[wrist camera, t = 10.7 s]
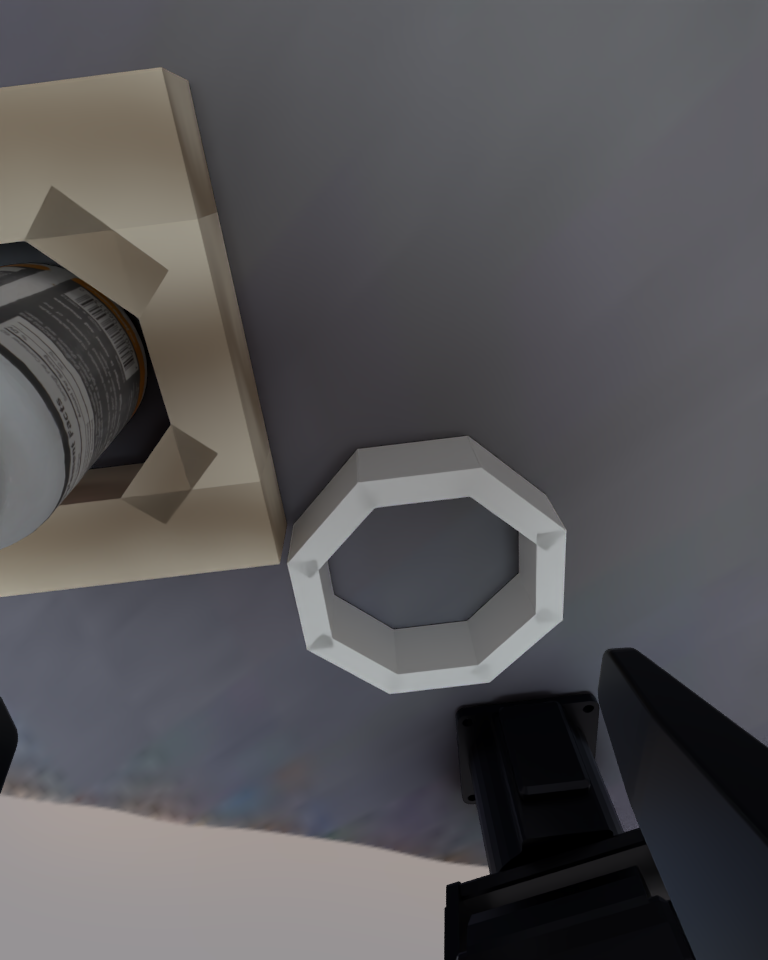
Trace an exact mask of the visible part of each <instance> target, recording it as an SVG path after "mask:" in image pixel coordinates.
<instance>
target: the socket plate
mask: <svg viewBox="0 0 768 960" xmlns="http://www.w3.org/2000/svg"><path fill="white" fill-rule="evenodd" d="M20 241H26V242H27V243H29V244H30V245H32V246H33V247H35V248H36V249H38V250H39V251H41V252H42V253H44V254H45V255H46V256H48V257H49V258H51V259H52V260H54V261H55V262H57V263H58V264H60V265H61V266H63V267H64V268H66V269H67V270H69V271H70V272H71V273H73V274H74V275H76V276H77V277H79V278H80V279H82V280H83V281H85V282H86V283H88V284H89V285H91V286H92V287H93V288H95V289H96V290H98V291H99V292H101V293H102V294H104V295H105V296H107V297H108V298H110V299H111V300H113V301H114V302H115V303H117V304H118V305H120V306H121V307H123V308H124V309H126V310H127V311H129V312H130V313H132V314H133V315H135V316H136V317H137V318H139V321H140V325H141V328H142V331H143V334H144V338H145V341H146V344H147V348H148V351H149V354H150V357H151V361H152V364H153V367H154V371H155V374H156V377H157V381H158V384H159V387H160V390H161V394H162V397H163V400H164V404H165V407H166V410H167V413H168V417H169V420H170V423H171V425H170V426H169V428H168V429H167V431H166V432H165V434H164V435H163V437H162V438H161V440H160V441H159V443H158V444H157V446H156V447H155V448H154V450H153V451H152V453H151V454H150V456H149V457H148V459H147V460H146V462H145V463H140V464H132V465H123V466H115V467H107V468H98V469H90V470H88V471H87V472H86V474H85V475H84V476H83V477H82V479H81V480H80V481H79V482H78V484H77V485H76V486H75V487H74V488H73V489H72V491H71V492H70V493H69V494H68V495H67V497H66V498H65V499H64V500H63V501H62V502H61V504H60V505H59V506H58V507H57V508H56V509H55V511H54V512H53V513H52V514H51V516H50V517H49V518H48V519H47V520H46V521H45V522H44V523H43V524H42V525H41V526H40V527H38V528H37V530H36V531H34V532H33V533H31V534H30V535H28V536H27V537H25V538H23V539H21V540H19V541H18V542H16V543H14V544H12V545H10V546H8V547H5V548H2V549H0V597H5V596H14V595H22V594H30V593H39V592H47V591H56V590H64V589H73V588H81V587H90V586H98V585H106V584H115V583H123V582H132V581H140V580H149V579H157V578H166V577H174V576H182V575H191V574H199V573H208V572H216V571H225V570H233V569H242V568H250V567H258V566H267V565H275V564H280V560H281V555H282V549H283V544H284V538H285V533H286V527H287V522H286V518H285V513H284V509H283V504H282V500H281V495H280V491H279V486H278V482H277V477H276V473H275V468H274V464H273V459H272V455H271V450H270V446H269V442H268V437H267V433H266V428H265V424H264V419H263V415H262V410H261V406H260V401H259V397H258V392H257V388H256V383H255V379H254V374H253V370H252V365H251V361H250V356H249V352H248V347H247V343H246V338H245V334H244V329H243V325H242V320H241V316H240V311H239V307H238V302H237V298H236V293H235V289H234V284H233V280H232V275H231V271H230V266H229V262H228V257H227V253H226V248H225V244H224V239H223V235H222V230H221V226H220V221H219V217H218V213H217V208H216V204H215V199H214V195H213V190H212V186H211V181H210V177H209V172H208V168H207V163H206V159H205V154H204V150H203V145H202V141H201V136H200V132H199V127H198V123H197V118H196V114H195V109H194V105H193V100H192V96H191V91H190V87H189V82H188V80H186V79H184V78H182V77H180V76H178V75H176V74H174V73H172V72H170V71H168V70H166V69H164V68H162V67H159V68H152V69H144V70H136V71H128V72H120V73H113V74H105V75H97V76H89V77H81V78H73V79H66V80H58V81H50V82H42V83H34V84H27V85H19V86H11V87H3V88H0V244H4V243H12V242H20Z"/></svg>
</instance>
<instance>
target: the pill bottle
mask: <svg viewBox="0 0 768 960" xmlns="http://www.w3.org/2000/svg"><path fill="white" fill-rule="evenodd" d="M146 383H147V360H146V355H145V351H144V347H143V344H142V341H141V339H140V337H139V335H138V332H137V330H136V328H135V326H134V325H133V323H132V321H131V320H130V318H129V317H128V315H127V314H126V313H125V311H124V310H123V309H122V307H121V306H119V305H118V304H117V303H115V302H114V301H113V300H111V299H110V298H108V297H107V296H105V295H104V294H102V293H101V292H99V291H98V290H96V289H95V288H93V287H92V286H91V285H89V284H88V283H86V282H85V281H83V280H82V279H80V278H79V277H77V276H76V275H74V274H73V273H71V272H70V271H69V270H66V269H63V268H60V267H56V266H51V265H46V264H37V263H22V264H12V265H7V266H2V267H0V549H2V548H5V547H8V546H10V545H12V544H14V543H16V542H18V541H19V540H21V539H23V538H25V537H27V536H28V535H30V534H31V533H33V532H34V531H36V530H37V528H38V527H40V526H41V525H42V524H43V523H44V522H45V521H46V520H47V519H48V518H49V517H50V516H51V514H52V513H53V512H54V511H55V509H56V508H57V507H58V506H59V505H60V504H61V502H62V501H63V500H64V499H65V498H66V497H67V495H68V494H69V493H70V492H71V491H72V489H73V488H74V487H75V486H76V485H77V484H78V482H79V481H80V480H81V479H82V477H83V476H84V475H85V474H86V472H87V471H88V470H89V469H90V467H91V466H92V465H93V464H94V463H95V462H96V460H97V459H98V458H99V457H100V456H101V454H102V453H103V452H104V451H105V450H106V449H107V448H108V446H109V445H110V444H111V443H112V441H113V440H114V439H115V438H116V436H117V435H118V434H119V433H120V432H121V431H122V429H123V428H124V427H125V425H126V424H127V423H128V422H129V420H130V419H131V418H132V416H133V415H134V413H135V412H136V410H137V409H138V407H139V405H140V403H141V401H142V399H143V396H144V392H145V388H146Z"/></svg>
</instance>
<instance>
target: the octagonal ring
mask: <svg viewBox="0 0 768 960" xmlns="http://www.w3.org/2000/svg"><path fill="white" fill-rule="evenodd" d="M462 497H471V498H473V499H474V500H475V501H477V502H478V503H480V504H481V505H482V506H484V507H485V508H487V509H488V510H489V511H491V512H492V513H494V514H495V515H496V516H498V517H499V518H501V519H502V520H503V521H505V522H506V523H508V524H509V525H510V526H512V527H513V528H514V529H516V530H517V531H519V573H518V574H517V575H516V576H515V577H514V578H513V579H512V580H511V581H510V582H508V583H507V584H506V585H505V586H504V587H503V588H502V589H501V590H500V591H499V592H498V593H497V594H496V595H494V596H493V597H492V598H491V599H490V600H489V601H488V602H487V603H486V604H485V605H484V606H483V607H481V608H480V609H479V610H478V611H477V612H476V613H475V614H474V615H473V616H472V617H471V618H470V619H468V620H467V621H461V622H453V623H444V624H436V625H427V626H419V627H410V628H402V629H392V628H390V627H389V626H387V625H385V624H384V623H382V622H380V621H378V620H377V619H375V618H373V617H372V616H370V615H368V614H366V613H365V612H363V611H361V610H360V609H358V608H356V607H354V606H353V605H351V604H349V603H348V602H346V601H344V600H342V599H341V598H339V597H337V596H336V595H334V592H333V586H332V581H331V576H330V571H329V565H328V559H329V558H330V557H331V556H332V555H333V554H334V553H335V551H336V550H337V549H338V548H339V547H340V546H341V545H342V544H343V543H344V541H345V540H346V539H347V538H348V537H349V536H350V535H351V534H352V533H353V531H354V530H355V529H356V528H357V527H358V526H359V525H360V524H361V523H362V521H363V520H364V519H365V518H366V517H367V516H368V515H369V514H370V513H371V511H372V510H373V509H374V508H378V507H387V506H395V505H403V504H412V503H420V502H428V501H437V500H445V499H454V498H462ZM566 532H567V530H566V528H565V527H564V525H563V523H562V522H561V520H560V518H559V516H558V515H557V513H556V511H555V510H554V508H553V506H552V504H551V503H550V501H549V499H548V498H547V496H546V494H544V493H543V492H541V491H540V490H539V489H537V488H536V487H535V486H533V485H532V484H531V483H530V482H528V481H527V480H526V479H524V478H523V477H522V476H520V475H519V474H518V473H516V472H515V471H514V470H512V469H511V468H510V467H509V466H507V465H506V464H505V463H503V462H502V461H501V460H499V459H498V458H497V457H495V456H494V455H493V454H491V453H490V452H489V451H488V450H486V449H485V448H484V447H482V446H481V445H480V444H478V443H477V442H476V441H474V440H473V439H472V438H470V437H469V436H468V435H467V436H462V437H453V438H445V439H437V440H428V441H420V442H412V443H403V444H395V445H387V446H378V447H370V448H362V449H357V450H356V451H355V453H354V454H353V455H352V456H351V457H350V458H349V460H348V461H347V462H346V463H345V464H344V466H343V467H342V468H341V469H340V470H339V471H338V473H337V474H336V475H335V476H334V477H333V479H332V480H331V481H330V482H329V483H328V484H327V486H326V487H325V488H324V489H323V490H322V492H321V493H320V494H319V495H318V496H317V497H316V499H315V500H314V501H313V502H312V503H311V505H310V506H309V507H308V508H307V509H306V510H305V512H304V513H303V514H302V515H301V516H300V518H299V519H298V520H297V521H296V522H295V523H294V524H293V529H292V536H291V542H290V548H289V554H288V560H287V565H288V569H289V573H290V578H291V582H292V586H293V591H294V595H295V599H296V604H297V608H298V612H299V617H300V621H301V625H302V630H303V634H304V638H305V643H306V647H307V648H306V649H307V650H309V651H310V652H312V653H314V654H316V655H318V656H320V657H322V658H323V659H325V660H327V661H329V662H331V663H333V664H335V665H336V666H338V667H340V668H342V669H344V670H346V671H348V672H350V673H351V674H353V675H355V676H357V677H359V678H361V679H363V680H364V681H366V682H368V683H370V684H372V685H374V686H376V687H377V688H379V689H381V690H383V691H385V692H387V693H389V694H394V693H403V692H412V691H420V690H429V689H438V688H446V687H455V686H464V685H472V684H481V683H490V682H491V681H492V680H493V679H494V678H495V677H497V676H498V675H499V674H500V673H501V672H502V671H504V670H505V669H506V668H507V667H508V666H509V665H511V664H512V663H513V662H514V661H515V660H516V659H518V658H519V657H520V656H521V655H522V654H523V653H525V652H526V651H527V650H528V649H529V648H530V647H532V646H533V645H534V644H535V643H536V642H537V641H539V640H540V639H541V638H542V637H543V636H544V635H546V634H547V633H548V632H549V631H550V630H551V629H553V628H554V627H555V626H556V625H557V624H558V623H560V622H561V621H563V600H564V576H565V552H566Z"/></svg>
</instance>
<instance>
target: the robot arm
mask: <svg viewBox="0 0 768 960" xmlns="http://www.w3.org/2000/svg"><path fill="white" fill-rule="evenodd" d="M598 699H599V704H600V707H601V711H602V714H603V717H604V720H605V724H606V727H607V730H608V733H609V737H610V740H611V743H612V746H613V750H614V753H615V756H616V759H617V763H618V766H619V769H620V772H621V776H622V779H623V782H624V785H625V789H626V792H627V795H628V798H629V801H630V804H631V807H632V809H633V812H634V814H635V817H636V819H637V822H638V824H639V827H640V828H637V829H634V830H631V831H628V832H624V831H623V828H622V826H621V823H620V821H619V818H618V816H617V813H616V811H615V808H614V806H613V803H612V801H611V799H610V796H609V794H608V791H607V789H606V786H605V784H604V781H603V779H602V776H601V774H600V771H599V769H598V767H597V764H596V762H595V751H596V740H597V729H598V717H599V704H598V702H597V700H596V698H595V697H594V696H593V695H591V694H583V695H575V696H566V697H557V698H549V699H540V700H531V701H523V702H514V703H505V704H497V705H488V706H479V707H471V708H464V709H461V710H460V711H458V712H457V714H456V727H457V740H458V753H459V766H460V779H461V792H462V798H463V801H464V802H465V803H467V804H477V810H478V815H479V820H480V825H481V830H482V835H483V841H484V846H485V851H486V856H487V861H488V866H489V871H490V875H487V876H483V877H480V878H477V879H474V880H471V881H467V882H464V883H460V882H455V883H452V884H449V885H447V887H446V907H445V932H444V934H445V936H444V939H445V940H444V960H768V747H767V746H765V745H764V744H763V743H761V742H760V741H758V740H757V739H756V738H754V737H753V736H752V735H750V734H749V733H748V732H746V731H745V730H744V729H742V728H741V727H740V726H738V725H737V724H736V723H734V722H733V721H732V720H730V719H729V718H728V717H726V716H725V715H724V714H722V713H721V712H720V711H718V710H717V709H716V708H714V707H713V706H712V705H710V704H709V703H707V702H706V701H705V700H703V699H702V698H701V697H699V696H698V695H697V694H695V693H694V692H693V691H691V690H690V689H689V688H687V687H686V686H685V685H683V684H682V683H681V682H679V681H678V680H677V679H675V678H674V677H673V676H671V675H670V674H669V673H667V672H666V671H665V670H663V669H662V668H661V667H659V666H658V665H656V664H655V663H654V662H652V661H651V660H650V659H648V658H647V657H646V656H644V655H643V654H642V653H640V652H639V651H638V650H636V649H634V648H614V649H608V650H606V651H605V652H604V654H603V658H602V665H601V671H600V678H599V685H598ZM17 742H18V733H17V729H16V726H15V724H14V722H13V720H12V718H11V716H10V714H9V712H8V710H7V708H6V706H5V704H4V702H3V700H2V698H1V697H0V793H1V790H2V788H3V785H4V782H5V779H6V776H7V773H8V770H9V768H10V765H11V762H12V759H13V756H14V753H15V750H16V747H17Z"/></svg>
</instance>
